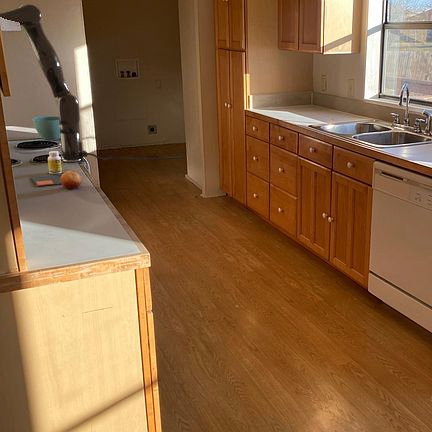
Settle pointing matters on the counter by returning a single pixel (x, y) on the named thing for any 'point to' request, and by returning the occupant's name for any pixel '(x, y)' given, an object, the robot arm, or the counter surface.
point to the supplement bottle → (54, 162)
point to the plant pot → (47, 127)
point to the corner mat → (47, 180)
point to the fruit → (70, 180)
